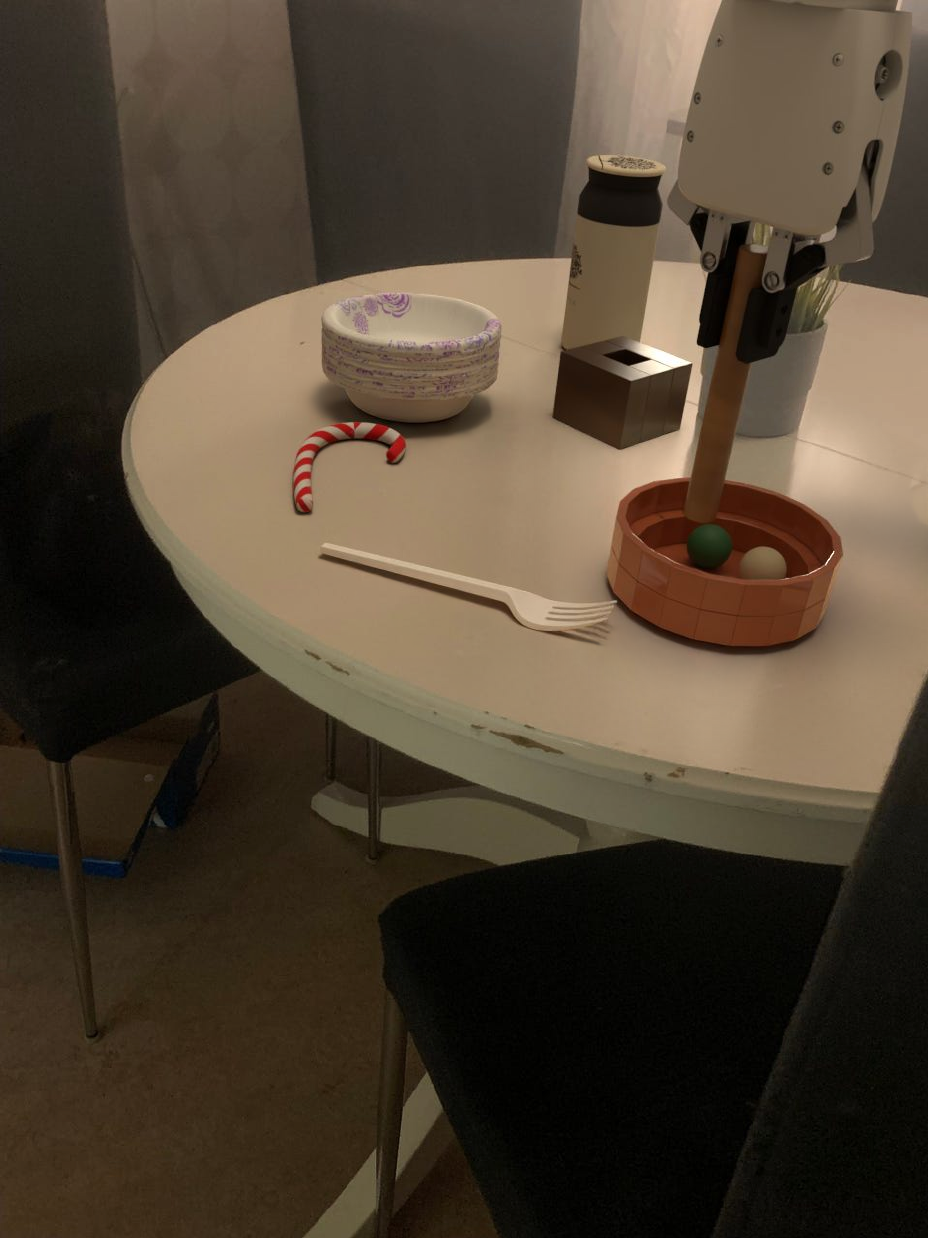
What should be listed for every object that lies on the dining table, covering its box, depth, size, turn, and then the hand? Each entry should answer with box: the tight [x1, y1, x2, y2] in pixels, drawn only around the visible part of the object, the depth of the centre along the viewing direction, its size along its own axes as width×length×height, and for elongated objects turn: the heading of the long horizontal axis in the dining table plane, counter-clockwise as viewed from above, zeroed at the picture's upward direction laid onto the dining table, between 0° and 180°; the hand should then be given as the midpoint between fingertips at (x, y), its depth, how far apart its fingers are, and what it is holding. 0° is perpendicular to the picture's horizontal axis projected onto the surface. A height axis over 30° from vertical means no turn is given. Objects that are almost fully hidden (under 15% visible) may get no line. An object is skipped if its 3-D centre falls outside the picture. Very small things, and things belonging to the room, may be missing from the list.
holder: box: [552, 336, 694, 450], centre depth 93 cm, size 8×8×6 cm
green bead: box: [687, 524, 732, 569], centre depth 73 cm, size 3×3×3 cm
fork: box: [318, 542, 618, 632], centre depth 69 cm, size 3×20×2 cm, turn 68°
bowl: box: [606, 476, 844, 647], centre depth 70 cm, size 14×14×5 cm
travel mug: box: [560, 154, 667, 350], centre depth 106 cm, size 8×8×18 cm
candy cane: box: [292, 421, 407, 513], centre depth 82 cm, size 8×1×15 cm
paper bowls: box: [320, 292, 502, 424], centre depth 93 cm, size 15×15×8 cm
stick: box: [683, 243, 769, 523], centre depth 62 cm, size 2×2×16 cm
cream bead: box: [739, 547, 787, 580], centre depth 70 cm, size 3×3×3 cm
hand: (736, 348), depth 60 cm, fingers closed on stick, 2 cm apart
